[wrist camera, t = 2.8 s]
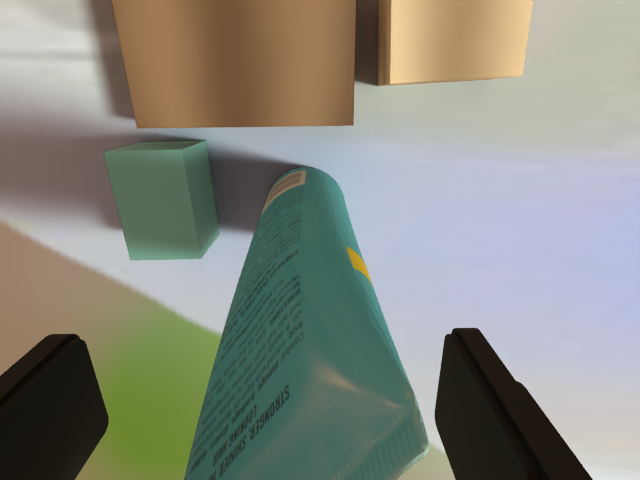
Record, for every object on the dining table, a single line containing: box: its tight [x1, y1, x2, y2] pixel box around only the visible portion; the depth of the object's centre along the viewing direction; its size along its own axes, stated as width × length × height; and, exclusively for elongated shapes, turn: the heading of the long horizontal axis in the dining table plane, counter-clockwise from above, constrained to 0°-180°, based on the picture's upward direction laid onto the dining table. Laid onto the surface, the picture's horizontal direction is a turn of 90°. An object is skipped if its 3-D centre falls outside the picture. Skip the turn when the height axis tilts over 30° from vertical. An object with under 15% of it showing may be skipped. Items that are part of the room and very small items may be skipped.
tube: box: [184, 167, 429, 480], centre depth 14 cm, size 7×5×19 cm, turn 152°
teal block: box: [103, 140, 220, 260], centre depth 21 cm, size 6×4×4 cm, turn 2°
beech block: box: [378, 0, 533, 86], centre depth 17 cm, size 6×4×4 cm, turn 93°
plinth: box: [112, 0, 356, 128], centre depth 17 cm, size 11×11×3 cm
